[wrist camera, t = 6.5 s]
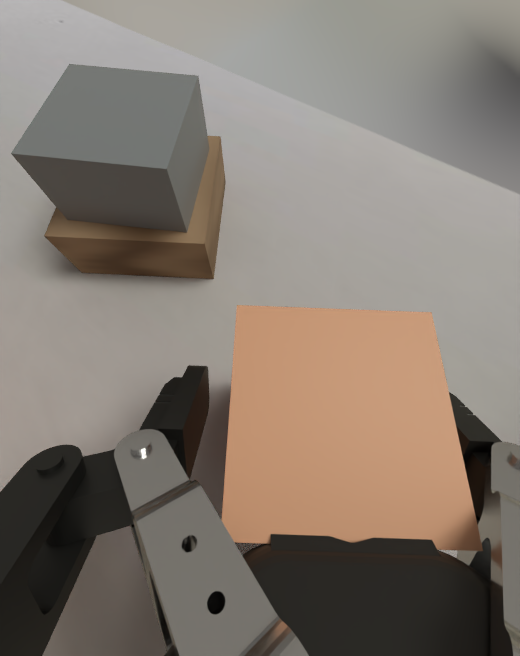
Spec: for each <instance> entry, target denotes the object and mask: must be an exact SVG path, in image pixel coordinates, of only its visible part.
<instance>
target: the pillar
mask: <svg viewBox="0 0 520 656" xmlns="http://www.w3.org/2000/svg"><path fill="white" fill-rule="evenodd" d="M222 522H223V524H224V526H225V527H226V529H227V531H228V532H229V534H230V536H231V537H232V539H233V541H234V542H236V543H264V544H270V543H271V534H288V535H316V536H331V537H334V538H337V539H341V540H344V541H347V542H351V543H355V542H360V541H363V540H367V539H370V538H400V539H428V540H432V541H433V543H434V544H435V546H436V548H437V550H465V551H483V548H482V543H481V539H480V534H479V530H478V525H477V520H476V516H475V511H474V506H473V502H472V497H471V493H470V488H469V483H468V479H467V474H466V470H465V465H464V460H463V456H462V451H461V446H460V442H459V437H458V433H457V428H456V423H455V419H454V414H453V410H452V405H451V400H450V396H449V391H448V386H447V382H446V377H445V373H444V368H443V363H442V359H441V354H440V350H439V345H438V340H437V336H436V331H435V326H434V322H433V317H432V313H431V312H404V311H378V310H351V309H324V308H298V307H271V306H244V305H237V312H236V326H235V340H234V354H233V368H232V382H231V396H230V410H229V424H228V438H227V452H226V466H225V480H224V494H223V507H222Z"/></svg>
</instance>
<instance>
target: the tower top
mask: <svg viewBox="0 0 520 656" xmlns="http://www.w3.org/2000/svg"><path fill="white" fill-rule="evenodd" d="M208 153H209V143H208V136H207V130H206V123H205V117H204V110H203V104H202V97H201V91H200V84H199V78H198V76H195V75H184V74H173V73H162V72H151V71H140V70H129V69H118V68H107V67H96V66H85V65H74V64H69V66H68V67H67V69H66V70H65V72H64V73H63V75H62V76H61V78H60V79H59V81H58V82H57V84H56V86H55V87H54V89H53V90H52V92H51V93H50V95H49V96H48V98H47V99H46V101H45V102H44V104H43V105H42V107H41V108H40V110H39V112H38V113H37V115H36V116H35V118H34V119H33V121H32V122H31V124H30V125H29V127H28V128H27V130H26V131H25V133H24V134H23V136H22V138H21V139H20V141H19V142H18V144H17V145H16V147H15V148H14V150H13V151H12V153H11V154H12V155H13V156H14V157H15V159H16V160H17V161H18V162H19V163H20V165H21V166H22V167H23V168H24V169H25V170H26V172H27V173H28V174H29V175H30V176H31V178H32V179H33V180H34V181H35V182H36V183H37V185H38V186H39V187H40V188H41V189H42V190H43V192H44V193H45V194H46V195H47V196H48V198H49V199H50V200H51V201H52V202H53V203H54V205H55V206H56V207H57V208H58V209H59V211H60V212H61V213H62V214H63V215H64V216H65V218H66V219H67V220H74V221H84V222H93V223H102V224H112V225H121V226H131V227H140V228H150V229H159V230H169V231H178V232H187V231H188V227H189V224H190V220H191V216H192V213H193V209H194V205H195V201H196V198H197V194H198V190H199V186H200V183H201V179H202V175H203V171H204V168H205V164H206V160H207V156H208Z"/></svg>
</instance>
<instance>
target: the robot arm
mask: <svg viewBox="0 0 520 656" xmlns="http://www.w3.org/2000/svg"><path fill="white" fill-rule="evenodd" d="M449 396H450V400H451V405H452V410H453V414H454V419H455V423H456V428H457V433H458V437H459V442H460V446H461V451H462V456H463V460H464V465H465V470H466V474H467V479H468V483H469V488H470V493H471V497H472V502H473V506H474V511H475V516H476V520H477V525H478V530H479V534H480V539H481V543H482V548H483V551H465V550H458V551H457V558H455V557H453V556H451V555H449V554H446V553H444V552H441V551H439V550H437V548H436V546H435V544H434V543H433V541H432V540H428V539H400V538H370V539H367V540H363V541H360V542H355V543H351V542H347V541H344V540H341V539H337V538H334V537H331V536H316V535H288V534H271V543H270V544H262V545H260V546H258V547H255V548H253V549H251V550H250V551H248V552H246V553H245V554H243V555H242V554H241V553H240V551H239V549H238V548H237V546H236V544H235V543H234V541H233V539H232V537H231V536H230V534H229V532H228V531H227V529H226V527H225V526H224V524H223V522H222V520H221V519H220V517H219V515H218V514H217V512H216V510H215V509H214V507H213V505H212V503H211V502H210V500H209V498H208V497H207V495H206V493H205V492H204V490H203V488H202V487H201V485H200V484H199V482H198V481H196V480H194V481H192V482H191V481H190V476H191V473H192V469H193V465H194V462H195V458H196V454H197V451H198V447H199V444H200V440H201V436H202V433H203V429H204V425H205V422H206V418H207V414H208V409H209V380H208V367H207V366H190V365H189V366H188V367H187V369H186V371H185V373H184V375H183V377H182V378H180V377H174V378H173V379H171V380H170V381H169V382H168V383H166V384H165V385H164V387H163V389H162V390H161V392H160V395H159V396H158V398H157V399H156V402H155V403H154V405H153V406H152V408H151V410H150V412H149V414H148V415H147V417H146V419H145V421H144V422H143V424H142V426H141V428H140V430H139V431H136V432H134V433H131V434H129V435H128V436H126V437H125V438H123V439H122V440H121V441H120V442H119V444H118V445H117V446H116V448H115V449H114V450H111V451H107V452H103V453H98V454H93V455H89V456H84V457H83V456H82V453H81V450H80V449H79V448H78V447H76V446H73V445H60V446H55V447H52V448H49V449H46V450H44V451H42V452H40V453H39V454H37V455H35V456H34V457H32V458H31V459H30V460H29V461H27V462H26V463H25V464H24V465H23V467H22V468H21V469H20V470H19V471H18V472H17V474H16V475H15V476H14V477H13V478H12V479H11V480H10V482H9V483H8V484H7V485H6V486H5V487H4V489H3V490H2V491H1V492H0V656H42V655H43V653H44V651H45V648H46V646H47V644H48V642H49V640H50V637H51V635H52V633H53V631H54V629H55V626H56V624H57V622H58V620H59V618H60V615H61V613H62V611H63V609H64V607H65V604H66V602H67V600H68V598H69V595H70V593H71V591H72V589H73V587H74V584H75V582H76V580H77V578H78V576H79V573H80V571H81V569H82V567H83V565H84V562H85V560H86V558H87V556H88V554H89V551H90V549H91V547H92V545H93V543H94V540H95V538H96V536H97V535H100V534H103V533H106V532H110V531H113V530H116V529H120V528H123V527H127V526H130V527H131V530H132V533H133V537H134V540H135V543H136V547H137V550H138V553H139V557H140V560H141V564H142V567H143V570H144V574H145V577H146V580H147V584H148V587H149V591H150V595H151V599H152V602H153V606H154V610H155V613H156V617H157V620H158V624H159V627H160V631H161V634H162V637H163V641H164V644H165V647H166V651H167V653H166V654H165V655H164V656H520V446H519V445H516V444H512V443H508V442H502V441H501V440H500V439H499V438H498V437H497V436H496V435H495V434H494V433H493V432H492V431H491V430H490V429H489V428H488V427H487V426H486V425H485V424H484V423H482V422H481V421H480V420H479V419H478V418H477V417H476V416H475V415H473V413H472V412H471V411H470V410H469V409H468V408H467V407H465V405H464V404H463V403H462V402H461V401H460V400H459V399H458V398H457V397H456V396H454V395H453V394H451V393H450V392H449Z"/></svg>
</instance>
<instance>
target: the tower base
mask: <svg viewBox="0 0 520 656" xmlns="http://www.w3.org/2000/svg"><path fill="white" fill-rule="evenodd" d="M208 143H209V153H208V156H207V160H206V164H205V168H204V171H203V175H202V179H201V183H200V186H199V190H198V194H197V198H196V201H195V205H194V209H193V213H192V216H191V220H190V224H189V227H188V231H187V232H178V231H169V230H159V229H150V228H140V227H131V226H121V225H112V224H102V223H93V222H84V221H74V220H67V219H66V218H65V216H64V215H63V214H62V213H61V212H60V211H59V209H58V208H57V207H56V209H55V211H54V214H53V216H52V219H51V221H50V223H49V226H48V228H47V231H46V233H45V235H44V236H45V237H46V238H47V239H48V240H49V241H50V242H51V243H52V244H53V245H54V246H55V247H56V248H57V249H58V250H59V251H60V252H61V253H62V254H63V255H64V256H65V257H66V258H67V259H68V260H69V261H70V262H71V263H72V264H73V265H74V266H76V267H77V268H78V269H79V270H80V271H81V272H82V273H100V274H121V275H142V276H163V277H185V278H206V279H214V271H215V263H216V255H217V247H218V239H219V231H220V223H221V215H222V206H223V198H224V190H225V174H224V165H223V156H222V147H221V138H220V137H219V136H208Z"/></svg>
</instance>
